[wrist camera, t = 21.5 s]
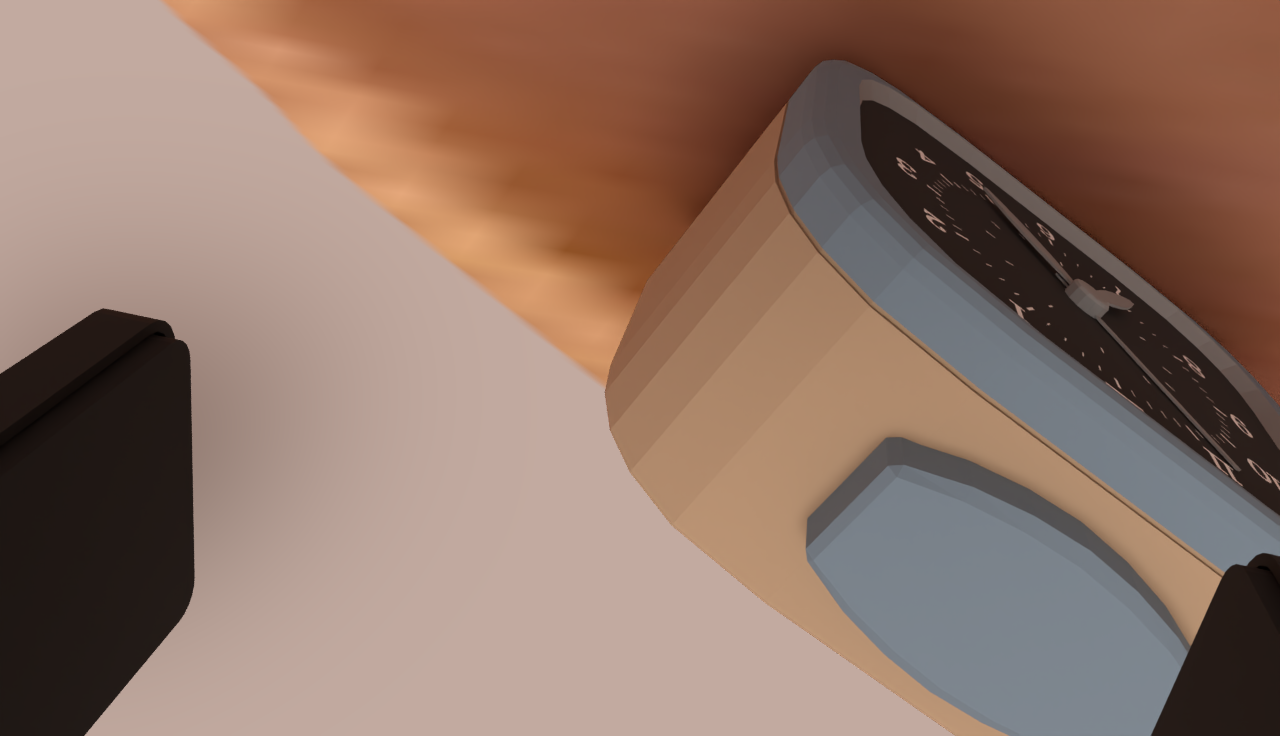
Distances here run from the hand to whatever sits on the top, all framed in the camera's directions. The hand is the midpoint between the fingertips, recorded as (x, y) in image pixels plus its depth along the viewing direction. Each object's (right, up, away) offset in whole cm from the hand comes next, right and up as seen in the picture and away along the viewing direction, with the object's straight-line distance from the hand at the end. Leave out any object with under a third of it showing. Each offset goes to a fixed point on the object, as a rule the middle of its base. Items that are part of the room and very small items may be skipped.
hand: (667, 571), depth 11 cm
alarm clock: (+12, +5, +36) cm, 39 cm away
